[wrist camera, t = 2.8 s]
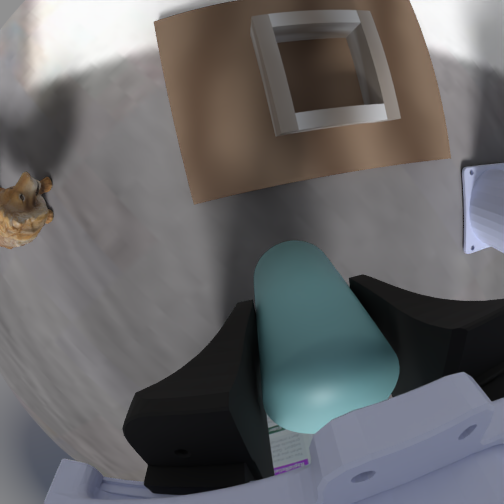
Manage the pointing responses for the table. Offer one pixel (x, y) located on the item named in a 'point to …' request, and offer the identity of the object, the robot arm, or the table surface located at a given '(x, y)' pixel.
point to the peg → (315, 341)
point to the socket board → (298, 91)
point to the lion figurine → (23, 211)
